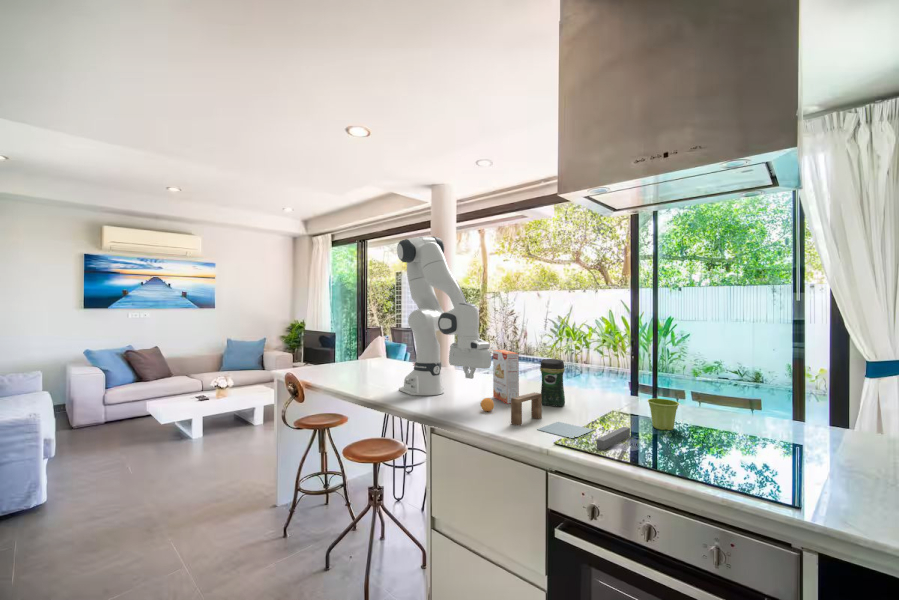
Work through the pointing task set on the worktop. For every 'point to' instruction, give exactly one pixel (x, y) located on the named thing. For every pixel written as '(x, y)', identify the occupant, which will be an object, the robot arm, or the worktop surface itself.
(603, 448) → the wall
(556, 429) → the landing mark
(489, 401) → the ball
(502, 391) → the cracker box
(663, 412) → the plant pot
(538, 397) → the bridge
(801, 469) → the worktop surface
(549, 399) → the coffee jar
